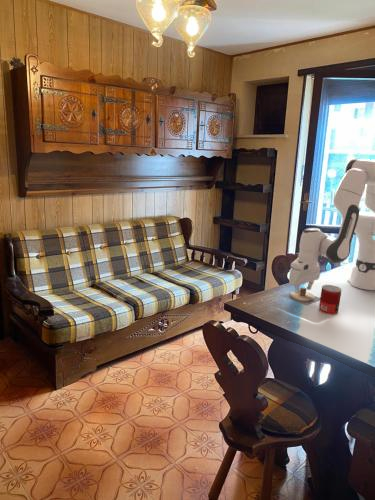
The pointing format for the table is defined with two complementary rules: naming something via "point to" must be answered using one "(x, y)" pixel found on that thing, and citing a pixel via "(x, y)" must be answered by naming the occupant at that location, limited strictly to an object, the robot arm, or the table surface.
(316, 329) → the table surface
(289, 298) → the mat
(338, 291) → the canned food
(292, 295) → the lid
